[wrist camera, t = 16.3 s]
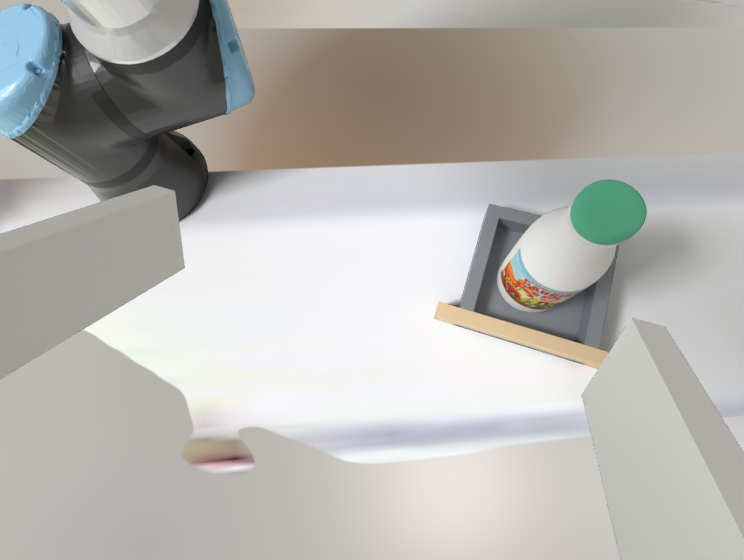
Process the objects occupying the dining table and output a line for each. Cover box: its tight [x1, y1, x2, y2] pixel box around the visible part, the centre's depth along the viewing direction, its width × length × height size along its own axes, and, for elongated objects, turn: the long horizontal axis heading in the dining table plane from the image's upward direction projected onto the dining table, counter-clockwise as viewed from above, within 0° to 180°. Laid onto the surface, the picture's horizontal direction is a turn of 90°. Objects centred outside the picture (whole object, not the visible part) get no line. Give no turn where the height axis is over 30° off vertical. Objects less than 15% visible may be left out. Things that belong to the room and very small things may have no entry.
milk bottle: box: [497, 180, 646, 313], centre depth 36 cm, size 8×8×20 cm
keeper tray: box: [434, 204, 619, 369], centre depth 44 cm, size 20×15×3 cm
